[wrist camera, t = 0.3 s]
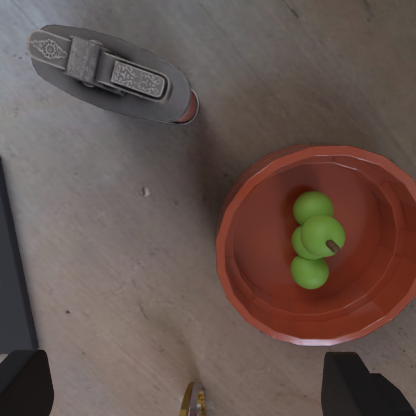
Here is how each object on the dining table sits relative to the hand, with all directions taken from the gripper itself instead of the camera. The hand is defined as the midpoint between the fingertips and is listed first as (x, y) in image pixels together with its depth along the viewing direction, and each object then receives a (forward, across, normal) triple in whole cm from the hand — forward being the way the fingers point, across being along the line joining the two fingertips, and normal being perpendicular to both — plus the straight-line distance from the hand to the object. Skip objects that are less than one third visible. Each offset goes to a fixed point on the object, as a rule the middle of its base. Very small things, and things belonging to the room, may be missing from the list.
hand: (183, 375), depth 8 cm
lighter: (+16, +4, -10) cm, 19 cm away
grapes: (+15, -8, +1) cm, 17 cm away
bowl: (+16, -8, +1) cm, 18 cm away
